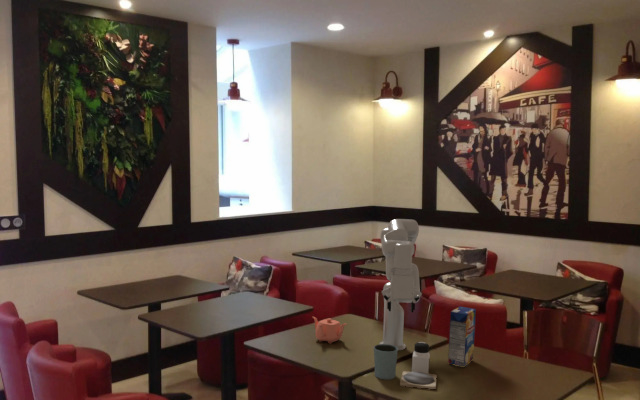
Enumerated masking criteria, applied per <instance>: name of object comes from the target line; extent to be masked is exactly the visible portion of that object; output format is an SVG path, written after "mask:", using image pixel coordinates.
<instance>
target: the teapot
mask: <svg viewBox="0 0 640 400" xmlns="http://www.w3.org/2000/svg"><path fill="white" fill-rule="evenodd" d="M312 319H314V329H315V333H314V334H315V338H316V339H317V340H318V341H319V342H327V343H328V344H333V343H334V342H338V341H339V340H340V339H341V338H342V336H343V333H344V329H345V328H344V327H345V326H346V325H347V323H342V324H341V322H340V321H338V320H336V319H332V318H324V319H322V320H318V318H317V317H315V316H312Z"/></svg>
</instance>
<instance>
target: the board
mask: <svg viewBox="0 0 640 400" xmlns="http://www.w3.org/2000/svg"><path fill="white" fill-rule="evenodd" d="M401 373H402V374H401V378H400V381H399V386H400V387H405V386H406V387H405V388H413V387H417V388H416V389H421V388H430V389H436V388H437V379H436V378H437V376H438V375H437V374H434V373H429V374H427V373H422V372H412V371H408V370H403V371H402V372H401ZM430 389H429V390H430Z"/></svg>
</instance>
